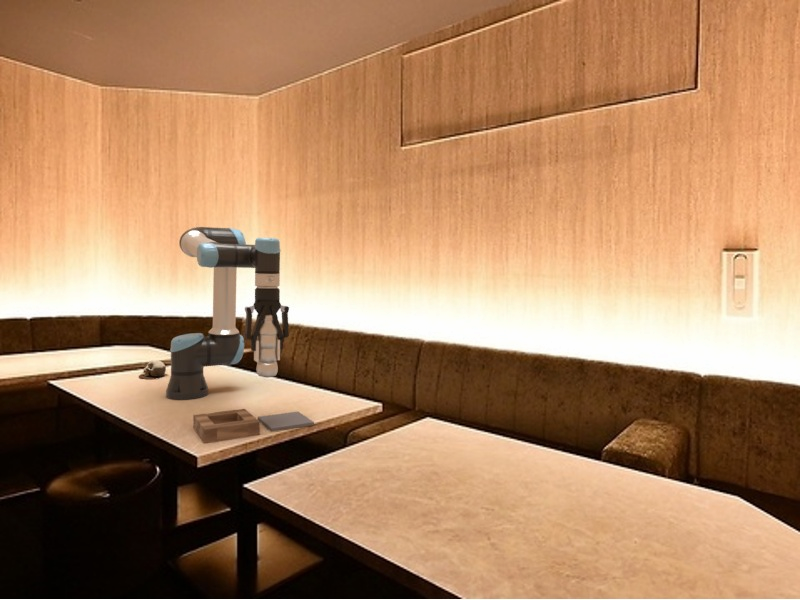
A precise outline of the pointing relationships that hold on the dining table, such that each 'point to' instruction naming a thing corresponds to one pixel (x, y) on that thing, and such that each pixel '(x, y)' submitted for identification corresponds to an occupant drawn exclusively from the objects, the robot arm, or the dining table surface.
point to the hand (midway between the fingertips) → (267, 360)
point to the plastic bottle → (267, 348)
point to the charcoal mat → (285, 421)
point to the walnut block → (225, 425)
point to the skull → (154, 370)
